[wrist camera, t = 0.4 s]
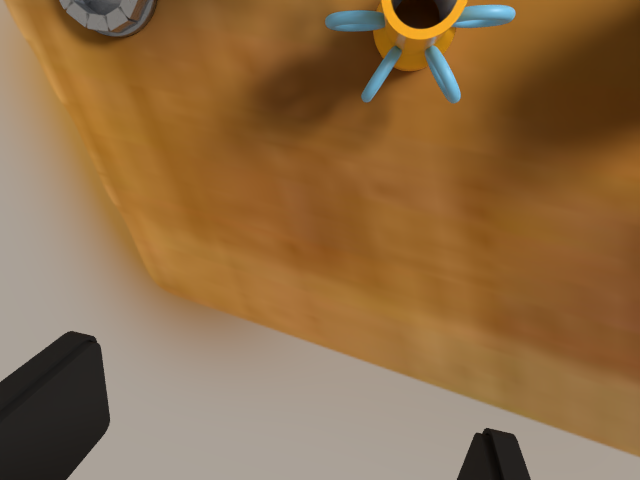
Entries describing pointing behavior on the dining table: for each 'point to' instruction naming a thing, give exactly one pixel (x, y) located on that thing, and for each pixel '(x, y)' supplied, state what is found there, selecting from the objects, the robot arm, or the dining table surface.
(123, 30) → the duct flange
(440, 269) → the dining table surface
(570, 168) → the dining table surface
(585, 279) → the dining table surface
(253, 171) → the dining table surface
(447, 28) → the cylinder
